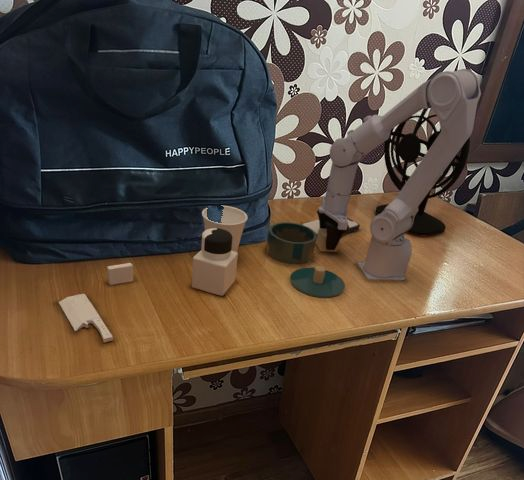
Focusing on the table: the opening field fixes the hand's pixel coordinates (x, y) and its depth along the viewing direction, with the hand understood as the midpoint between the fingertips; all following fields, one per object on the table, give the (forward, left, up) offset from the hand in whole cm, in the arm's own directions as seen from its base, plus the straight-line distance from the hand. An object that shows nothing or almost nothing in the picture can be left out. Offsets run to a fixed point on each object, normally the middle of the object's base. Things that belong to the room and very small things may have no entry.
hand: (327, 244), depth 126 cm
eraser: (+50, +16, -2) cm, 52 cm away
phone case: (-4, -12, -2) cm, 12 cm away
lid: (+8, +18, -1) cm, 19 cm away
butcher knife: (+56, +30, -2) cm, 63 cm away
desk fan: (-30, -18, -2) cm, 36 cm away
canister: (+10, +4, -1) cm, 11 cm away
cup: (+28, +6, -2) cm, 28 cm away
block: (0, 0, -1) cm, 1 cm away
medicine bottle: (+30, +18, -2) cm, 35 cm away
